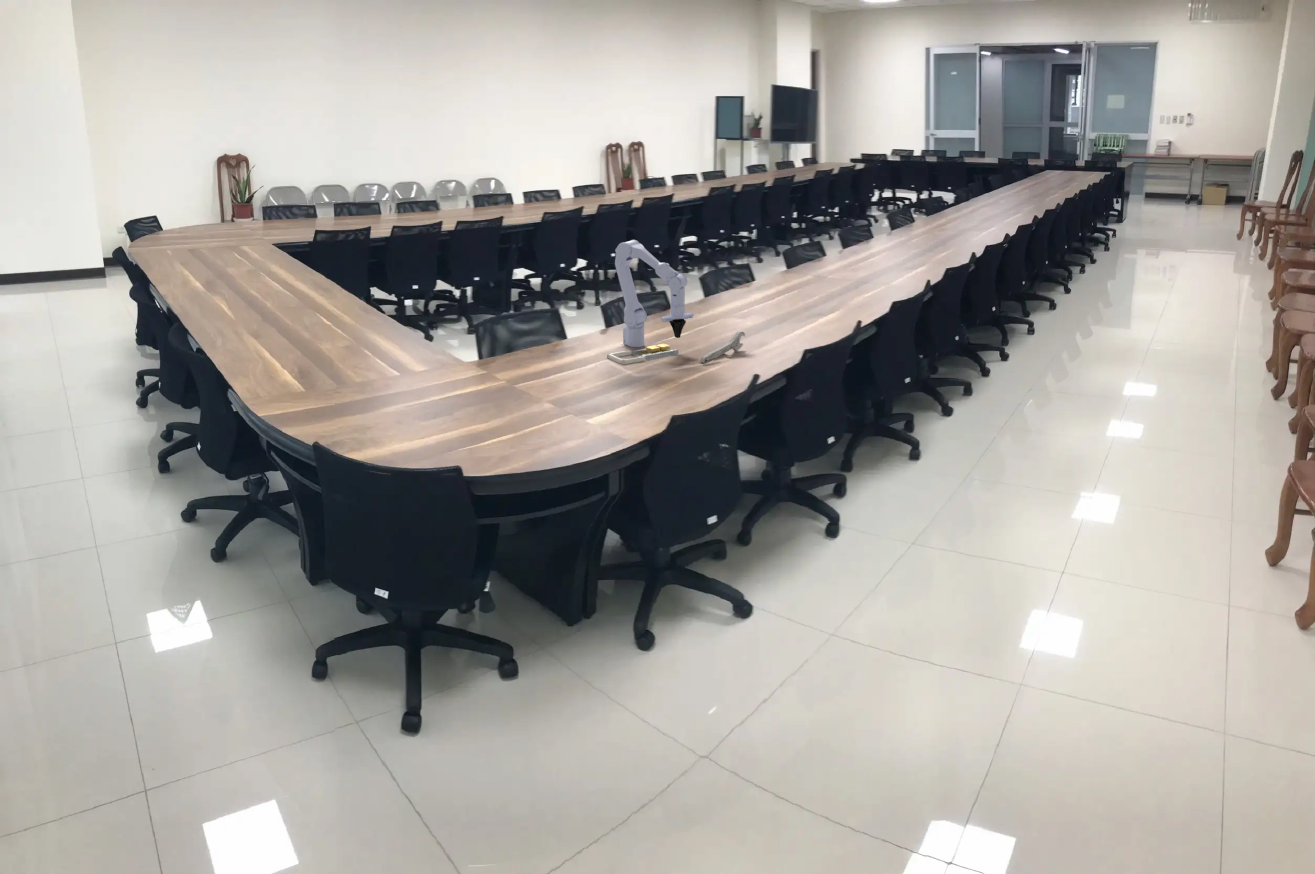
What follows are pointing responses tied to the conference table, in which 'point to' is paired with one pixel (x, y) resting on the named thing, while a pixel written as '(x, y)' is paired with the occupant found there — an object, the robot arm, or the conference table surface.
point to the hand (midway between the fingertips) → (677, 337)
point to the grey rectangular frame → (615, 357)
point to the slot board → (654, 354)
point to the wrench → (725, 348)
